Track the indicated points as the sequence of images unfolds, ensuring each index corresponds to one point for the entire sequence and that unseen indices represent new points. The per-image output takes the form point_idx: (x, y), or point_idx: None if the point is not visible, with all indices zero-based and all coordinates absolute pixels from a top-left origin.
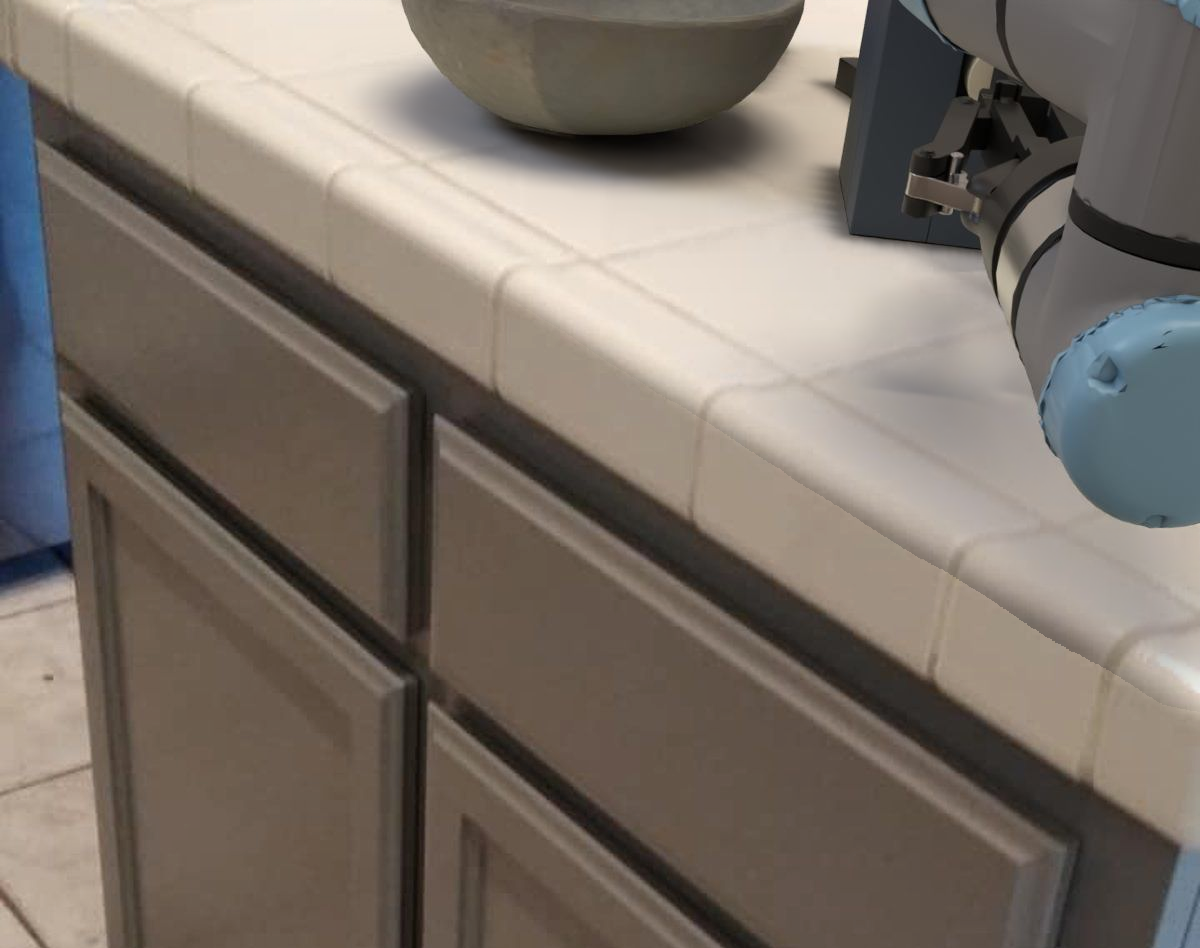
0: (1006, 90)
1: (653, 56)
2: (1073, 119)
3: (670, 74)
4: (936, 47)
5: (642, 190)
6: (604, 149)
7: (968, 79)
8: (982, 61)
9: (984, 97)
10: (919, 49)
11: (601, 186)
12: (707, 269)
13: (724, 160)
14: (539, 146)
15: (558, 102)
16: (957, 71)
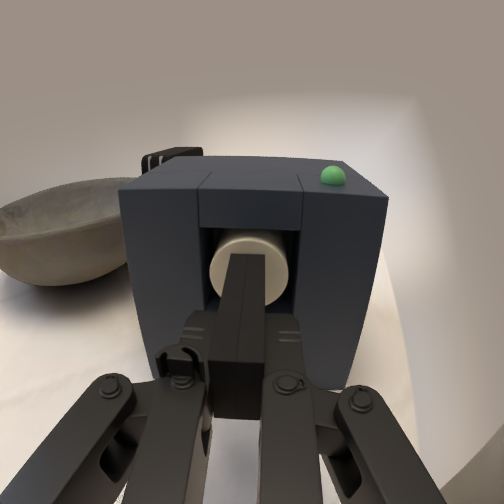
0: (177, 366)
1: (33, 255)
2: (293, 439)
3: (50, 263)
4: (172, 248)
5: (51, 330)
6: (65, 290)
7: (210, 275)
8: (218, 259)
9: (184, 335)
10: (156, 251)
11: (33, 327)
12: (20, 435)
13: (122, 293)
14: (37, 291)
15: (17, 278)
16: (198, 268)
